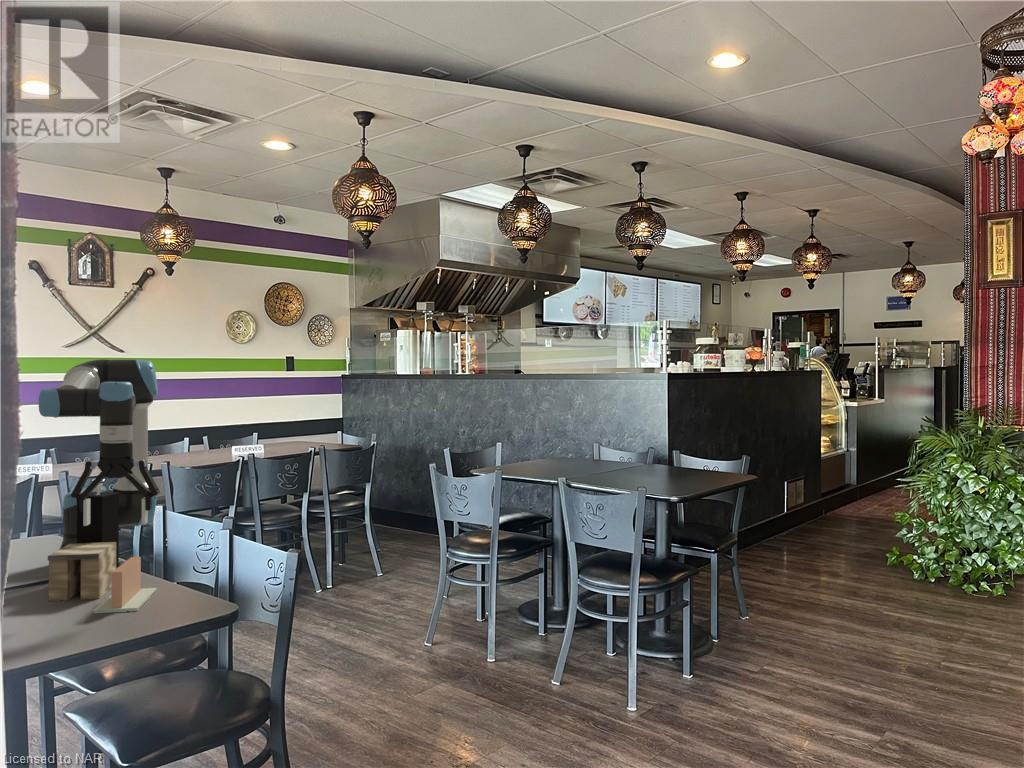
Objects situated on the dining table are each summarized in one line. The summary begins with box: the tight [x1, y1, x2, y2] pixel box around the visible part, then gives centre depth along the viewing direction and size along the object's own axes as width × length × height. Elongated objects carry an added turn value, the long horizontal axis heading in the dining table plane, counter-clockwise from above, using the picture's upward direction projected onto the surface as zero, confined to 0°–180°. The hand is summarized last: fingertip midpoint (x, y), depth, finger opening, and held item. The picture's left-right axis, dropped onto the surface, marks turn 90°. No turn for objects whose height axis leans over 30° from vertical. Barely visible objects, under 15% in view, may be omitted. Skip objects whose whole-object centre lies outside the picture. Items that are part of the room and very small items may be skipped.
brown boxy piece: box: [47, 542, 116, 602], centre depth 198 cm, size 15×12×12 cm
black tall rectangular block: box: [77, 482, 120, 569], centre depth 212 cm, size 8×8×28 cm
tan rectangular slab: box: [110, 556, 142, 608], centre depth 191 cm, size 16×2×9 cm, turn 12°
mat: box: [93, 587, 158, 614], centre depth 191 cm, size 18×10×1 cm, turn 12°
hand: (115, 524), depth 188 cm, fingers open, 13 cm apart
